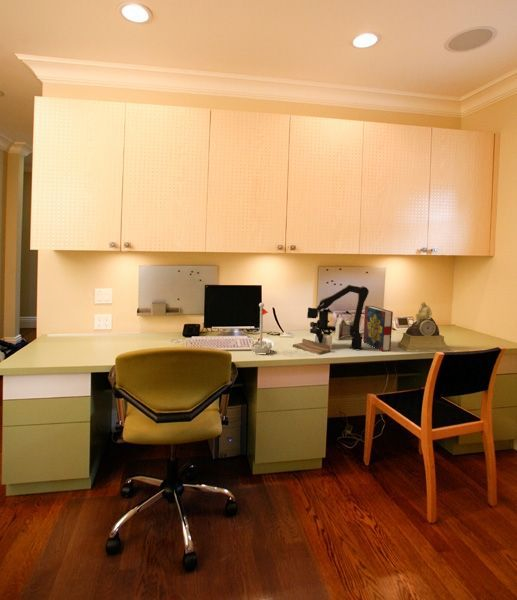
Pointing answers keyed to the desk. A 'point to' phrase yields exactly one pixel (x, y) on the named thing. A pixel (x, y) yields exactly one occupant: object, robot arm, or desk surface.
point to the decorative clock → (423, 333)
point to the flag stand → (261, 346)
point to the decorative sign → (342, 328)
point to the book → (378, 327)
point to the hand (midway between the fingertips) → (322, 342)
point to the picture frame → (324, 339)
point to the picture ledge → (312, 346)
